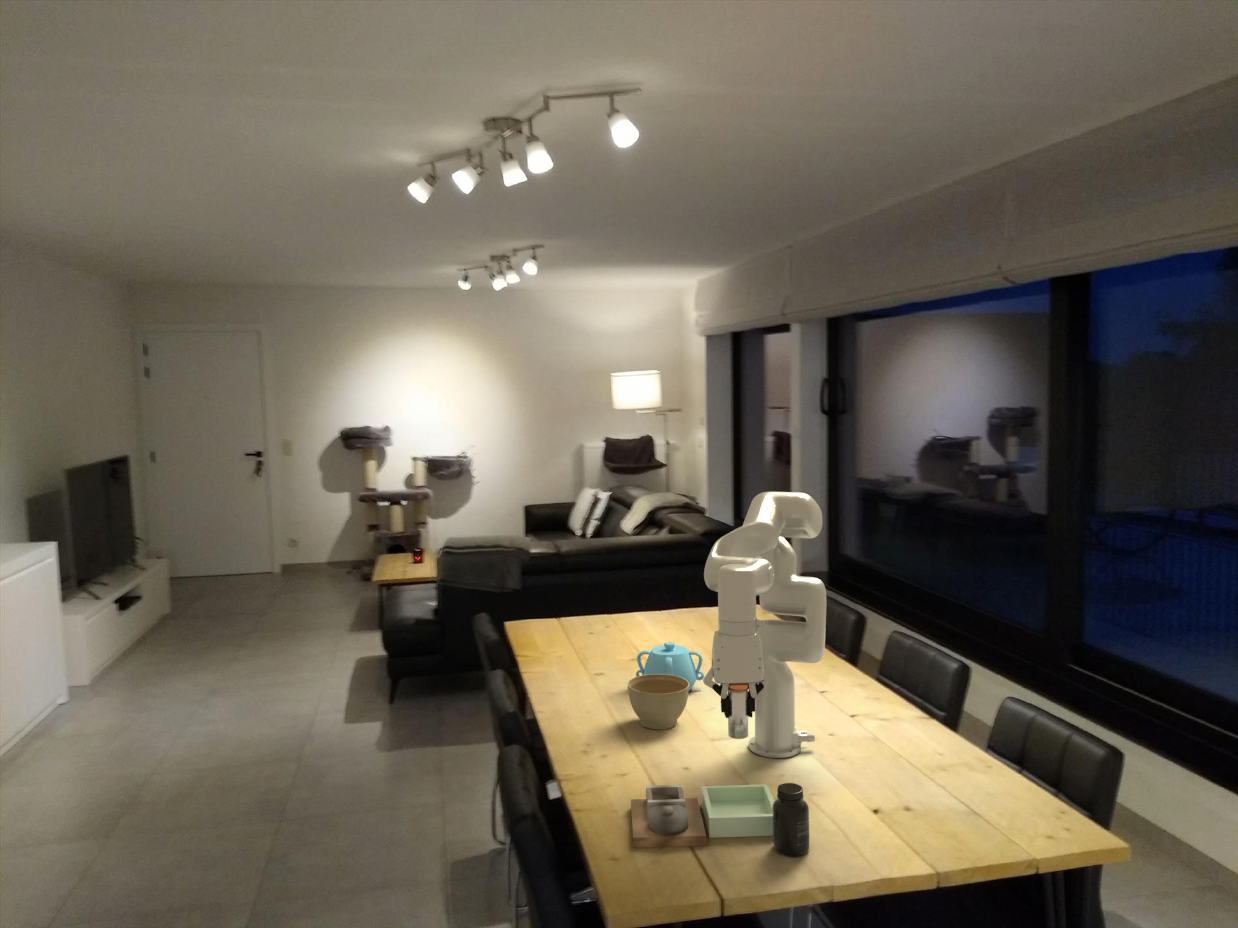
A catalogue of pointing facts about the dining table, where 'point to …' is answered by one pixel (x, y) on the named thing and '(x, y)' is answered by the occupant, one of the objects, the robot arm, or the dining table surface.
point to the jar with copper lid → (738, 711)
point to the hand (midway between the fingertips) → (738, 714)
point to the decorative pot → (671, 662)
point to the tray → (738, 810)
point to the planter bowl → (658, 699)
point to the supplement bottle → (790, 821)
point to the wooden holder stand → (666, 819)
